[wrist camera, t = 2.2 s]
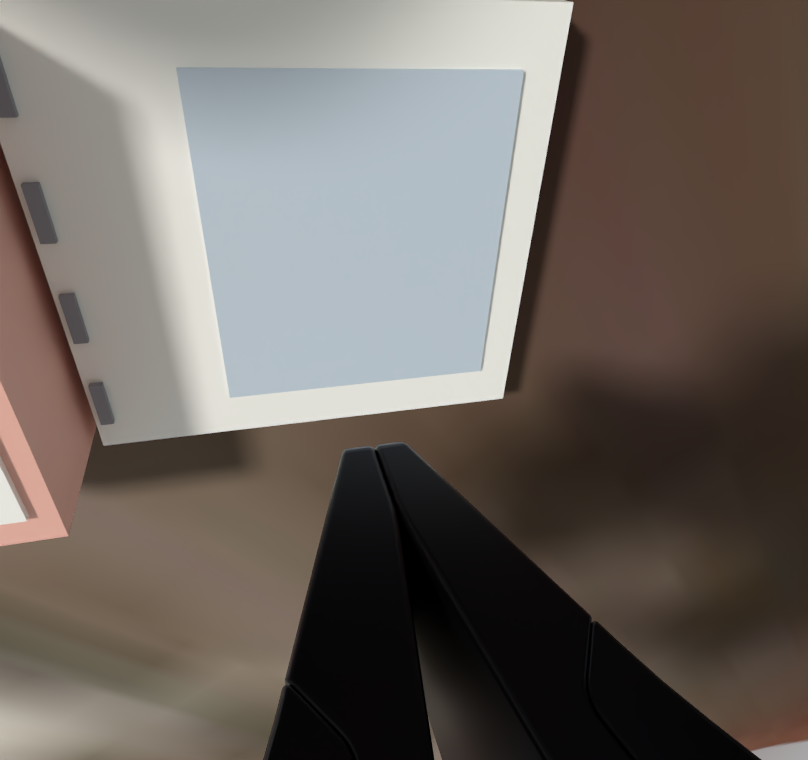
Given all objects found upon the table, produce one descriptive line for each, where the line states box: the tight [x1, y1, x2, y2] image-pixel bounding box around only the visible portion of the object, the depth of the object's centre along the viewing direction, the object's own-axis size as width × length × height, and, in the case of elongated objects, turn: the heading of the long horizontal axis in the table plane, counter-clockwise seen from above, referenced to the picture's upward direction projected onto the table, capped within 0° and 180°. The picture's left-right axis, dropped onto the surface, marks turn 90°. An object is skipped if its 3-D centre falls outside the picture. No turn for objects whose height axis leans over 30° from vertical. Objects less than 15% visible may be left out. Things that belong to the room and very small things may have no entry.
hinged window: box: [0, 0, 574, 446], centre depth 14 cm, size 11×10×1 cm
